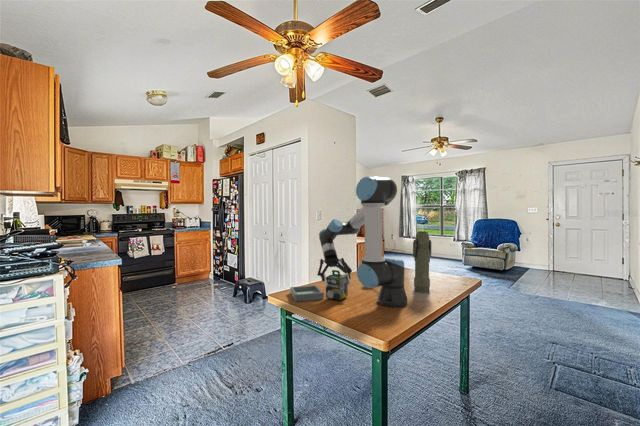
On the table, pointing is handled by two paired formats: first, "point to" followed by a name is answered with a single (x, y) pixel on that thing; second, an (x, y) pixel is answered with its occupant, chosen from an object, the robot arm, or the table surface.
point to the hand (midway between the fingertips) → (338, 285)
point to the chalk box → (336, 286)
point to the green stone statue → (422, 261)
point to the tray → (306, 293)
